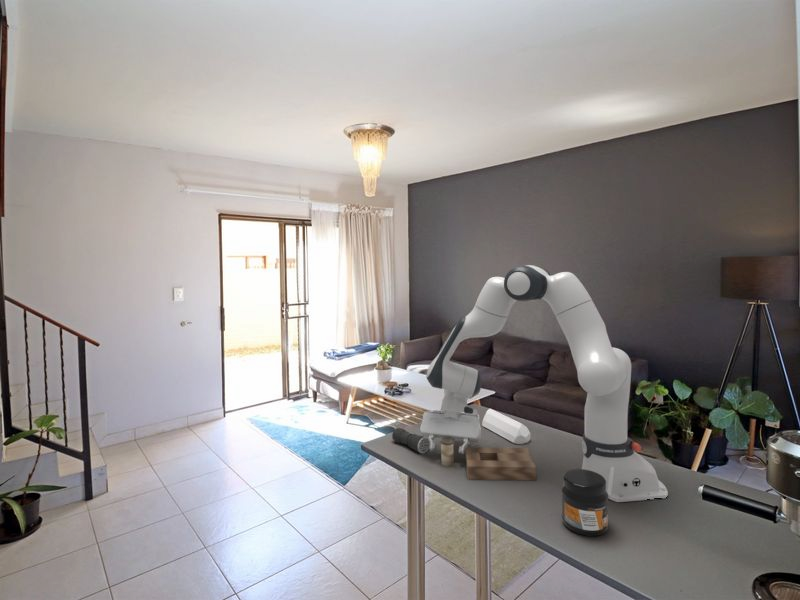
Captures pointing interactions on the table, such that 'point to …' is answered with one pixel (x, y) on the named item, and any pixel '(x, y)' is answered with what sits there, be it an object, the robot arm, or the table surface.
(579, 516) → the supplement container
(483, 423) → the white faceted prism
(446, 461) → the beech pin
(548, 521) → the table surface
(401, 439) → the flashlight
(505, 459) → the socket block
